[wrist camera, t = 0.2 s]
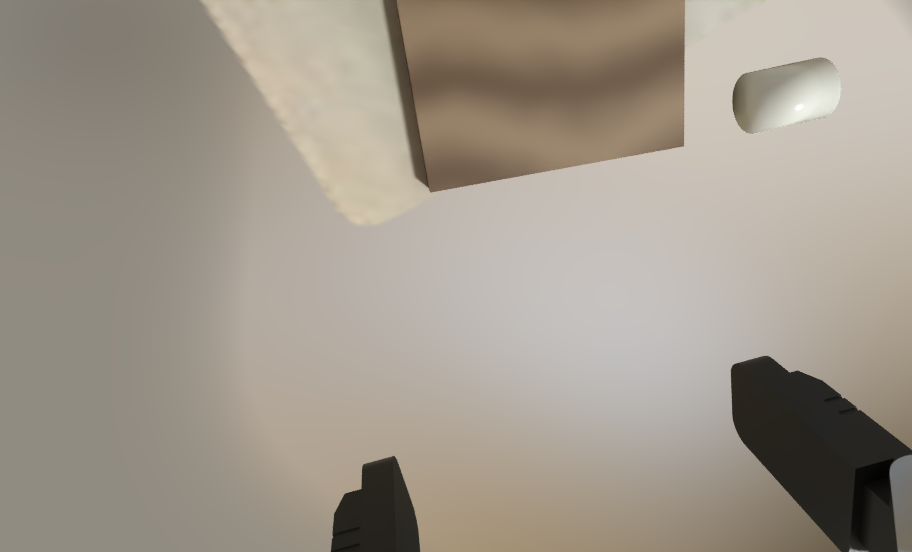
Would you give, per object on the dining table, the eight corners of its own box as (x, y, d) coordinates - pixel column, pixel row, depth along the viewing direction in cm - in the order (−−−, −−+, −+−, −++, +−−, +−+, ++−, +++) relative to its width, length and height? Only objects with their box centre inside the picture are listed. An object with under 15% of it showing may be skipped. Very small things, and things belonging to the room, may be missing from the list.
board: (395, 0, 36) (396, -2, 34) (675, -46, 37) (684, -48, 35) (428, 188, 40) (430, 192, 39) (675, 143, 41) (683, 146, 40)
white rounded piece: (801, 55, 40) (733, 70, 40) (844, 60, 36) (769, 76, 36) (797, 113, 42) (731, 127, 42) (837, 122, 38) (765, 138, 38)
